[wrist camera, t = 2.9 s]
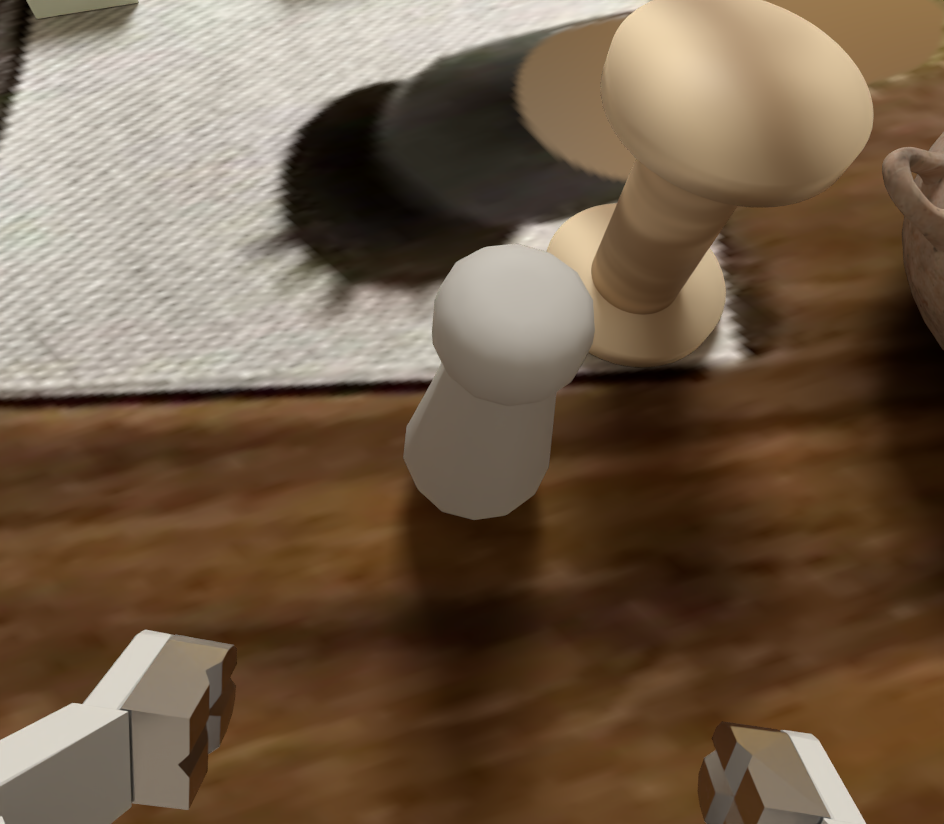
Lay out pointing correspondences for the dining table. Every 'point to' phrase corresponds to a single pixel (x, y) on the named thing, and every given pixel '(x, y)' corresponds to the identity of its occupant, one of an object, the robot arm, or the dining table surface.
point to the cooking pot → (921, 225)
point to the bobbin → (704, 159)
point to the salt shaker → (497, 378)
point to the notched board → (71, 6)
